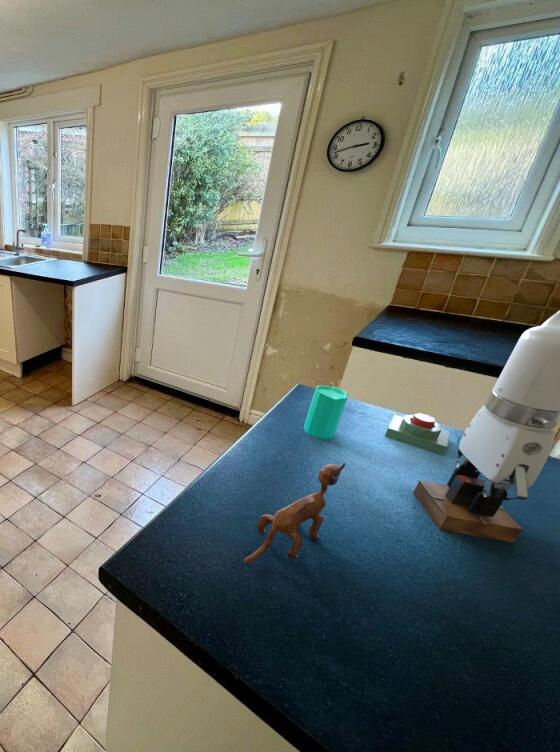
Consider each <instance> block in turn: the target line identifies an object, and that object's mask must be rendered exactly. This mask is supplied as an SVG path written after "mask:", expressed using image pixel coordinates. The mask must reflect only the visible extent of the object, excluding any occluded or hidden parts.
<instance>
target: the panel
mask: <svg viewBox="0 0 560 752" xmlns="http://www.w3.org/2000/svg"><path fill="white" fill-rule="evenodd" d="M448 489H449V487H448V486H447V484H445V483H438V482H434V481H433V482H432V481H426V480H418V482H417V484H416V486H415V488H414V490H413V492H412V493H413V495H414V496H415V498H416V499H417V500H418V503H420V505H421V506H422V507H423V509H424V510H425V511H426V513H427V514H428V516H429V517H430V518H431V520H432V521H433V523H434V524H435V526H436V528H438V530H441V531H445V532H451V533H457V534H461V535H462V534H463V535H466V536H467V535H468V536H473V537H479V538H485V539H491V540H496V541H502V542H508V543H513V544H514V543H515V542H516V540H517V539H518V537H519V536H520V535H521V533H522V532H523V527H522V526H521V525H520V524H519V523H518V522H517V521H516V520H515V519H514V517H512V515H510V514H509V513H508V512H507V511H506V509H505V508H504V507H503V506H502V505H501V506H500V507H499V509H498V510H497V512H496V514H495V515H494V516H493V517H489V516H483V515H477V514H472V513H470V512H469V510H468V509H469V507H470V506H464V505H458V504H452V503H451V502H450V501H449V500H448V498H447V497H446V496H445V495H446V493H447V491H448Z"/></svg>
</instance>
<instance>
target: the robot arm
mask: <svg viewBox="0 0 560 752" xmlns="http://www.w3.org/2000/svg"><path fill="white" fill-rule="evenodd" d="M520 335H521V336H520V337H519V338H518V340H517V343H516V344H515V346H514V348H513V350H512V352H511V354H510V355H509V357H508V359H507V361H506V364H505V366H504V367H503V369H502V371H501V373H500V374H499V377H498V378H497V380H496V382H495V384H494V386H493V388H492V389H491V392H490V393H489V395H488V397H487V399H486V400H485V403H484V404H483V405H482V406H481V407H480V409H479V410H478V411H477V412H476V414H475V415H474V417H473V418H472V420H471V421H470V423H469V425H468V426H467V428H466V429H465V431H464V432H463V434H462V436H459V437H458V438H457V439H456V443H457V448H458V450H457V460H456V461H455V463H454V466H455V467H456V468H455V469H454V471H453V472H452V474H451V477H450V478H449V480H448V481H447V484H446V485H447V486H448V487H449V488H450V486H451V484H452V482H453V480H454V478H455V477H456V476H458V475H462V476H466V477H470V478H477V479H479V477H480V476H481V475H480V474H482V475H483V476H484V477H485V479H484V480H485V484H484V488H483V493H481V492H478V493H477V495H476V497H475V498H474V500H473V502H472V503H471V505H470V507H469V509H468V510H469V512H470V513H472V514H477V515H483V516H489V517H493V516H494V515H495V514H496V512H497V510H498V509H499V507H500V506H501V507H502V504H503V502H504V501H505V502H506V501H507V502H508V501H510V500H511V501H512V500H513V501H514V500H522V501H523V500H525V501H526V500H528V498H529V494H528V489H530V488H531V487H533V485H534V484H535V482H536V481H537V479H538V478H539V475H540V474H541V472H542V470H543V468H544V466H545V464H546V462H547V460H548V458H549V456H550V454H551V451H552V448H553V445H554V441H555V437H556V431H554V429H555V427H556V426H557V424H558V422H559V420H560V310H558V311H557V312H555V313H554V314H553V315H551V316H550V317H548V319H546V320H545V321H544V322H543V323H542V324H541V325H539V326H534V327H530V328H528V329H526V330H524V331H523V333H522V334H520ZM495 483H496V484H499V485H501V487H502V488H501V489H498V490H494V487H495Z"/></svg>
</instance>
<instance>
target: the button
mask: <svg viewBox="0 0 560 752" xmlns="http://www.w3.org/2000/svg"><path fill="white" fill-rule="evenodd" d="M413 415H414V416H413V418H412V421H411V422H412V423H414V424H416V425H418V426H421V427H424V428H432V427H433V425H434V423H435V422H436V419H435V418H434V417H433V416H431V415H428V414H425V413H419V412H416V413H414V414H413Z"/></svg>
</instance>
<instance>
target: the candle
mask: <svg viewBox="0 0 560 752" xmlns="http://www.w3.org/2000/svg"><path fill="white" fill-rule="evenodd" d="M348 396H349V393H348V392H347V391H345V390H344V389H342V388H339V387H336V386H335V384H333V386H328V385H316V387H315V391H314V394H313V397H312V400H311V403H310V406H309V409H308V413H307V415H306V419H305V422H304V426H303V431H305V433H307V434H308V435H309V436H312V437H313V438H318V439H321V440H330V439H332V438H334V437H335V434H336V431H337V428H338V425H339V422H340V420H341V417H342V414H343V411H344V408H345V406H346V403H347V401H348Z"/></svg>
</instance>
